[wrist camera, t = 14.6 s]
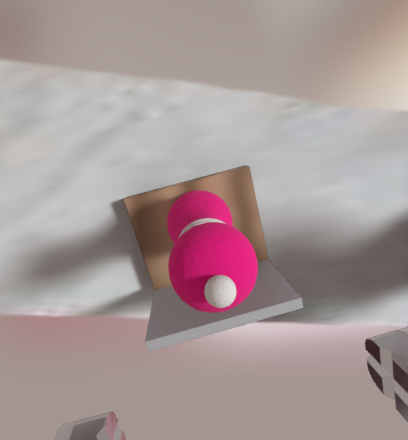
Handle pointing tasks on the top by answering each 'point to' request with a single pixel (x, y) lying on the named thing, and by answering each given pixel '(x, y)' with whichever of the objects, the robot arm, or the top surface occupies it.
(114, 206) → the top surface
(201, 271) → the pepper mill
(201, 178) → the bookend
